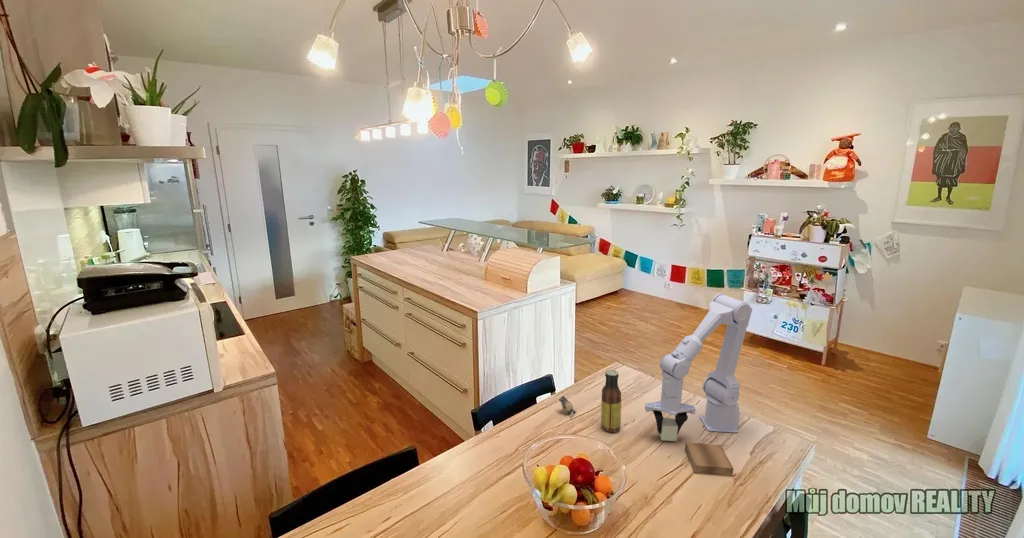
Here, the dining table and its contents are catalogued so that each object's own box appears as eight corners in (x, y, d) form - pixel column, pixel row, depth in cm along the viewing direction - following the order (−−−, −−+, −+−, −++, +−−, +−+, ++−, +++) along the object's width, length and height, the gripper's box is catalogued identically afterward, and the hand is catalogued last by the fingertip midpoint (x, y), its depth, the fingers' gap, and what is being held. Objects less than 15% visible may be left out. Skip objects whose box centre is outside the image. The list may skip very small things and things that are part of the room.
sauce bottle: (621, 424, 142) (625, 369, 137) (619, 435, 136) (623, 378, 131) (601, 420, 144) (604, 366, 139) (598, 431, 138) (601, 375, 133)
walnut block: (719, 453, 128) (720, 445, 127) (732, 477, 119) (733, 468, 118) (684, 450, 129) (685, 442, 129) (694, 474, 120) (695, 465, 119)
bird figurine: (555, 414, 147) (556, 398, 146) (562, 408, 151) (563, 392, 150) (570, 419, 144) (571, 403, 143) (576, 412, 149) (577, 396, 148)
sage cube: (672, 432, 136) (674, 418, 135) (676, 441, 132) (678, 426, 130) (658, 431, 136) (659, 417, 135) (661, 440, 132) (662, 425, 131)
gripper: (649, 398, 127) (646, 438, 131) (700, 401, 126) (695, 441, 129) (645, 386, 134) (641, 424, 137) (693, 388, 133) (688, 427, 136)
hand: (667, 432), depth 134 cm, fingers closed on sage cube, 4 cm apart
